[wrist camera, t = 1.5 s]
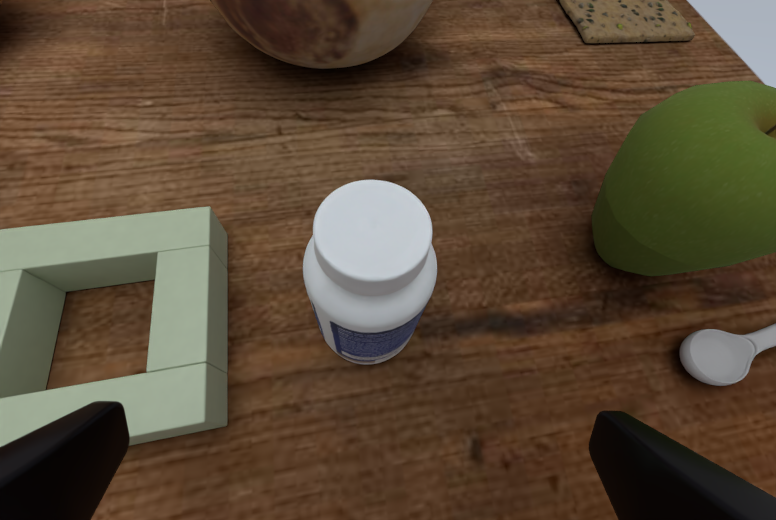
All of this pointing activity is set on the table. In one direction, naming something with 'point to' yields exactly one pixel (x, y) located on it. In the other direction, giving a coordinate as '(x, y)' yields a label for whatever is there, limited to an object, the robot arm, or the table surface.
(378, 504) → the table surface
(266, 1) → the clay pot
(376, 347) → the pill bottle
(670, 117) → the apple
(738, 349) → the spoon
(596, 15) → the cookie
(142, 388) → the frame
